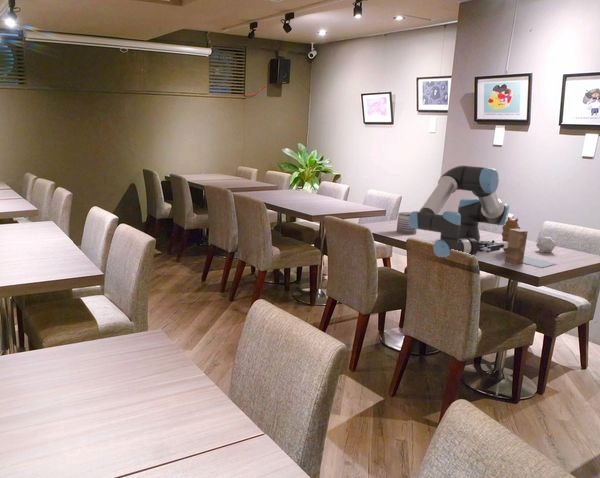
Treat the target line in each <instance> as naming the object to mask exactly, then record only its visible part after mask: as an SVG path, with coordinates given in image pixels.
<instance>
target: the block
mask: <svg viewBox="0 0 600 478" xmlns="http://www.w3.org/2000/svg"><path fill="white" fill-rule="evenodd" d="M528 232H529V231H528V230H524V229H521V228H520V229H509V235H508V248H507V249H506V252H505V258H504V263H505V264H509V265H511V266H523V264H524V263H523V259H524V256H525V252H526V251H525V250H526V245H527V238H528Z"/></svg>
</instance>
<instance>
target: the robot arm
mask: <svg viewBox="0 0 600 478" xmlns="http://www.w3.org/2000/svg"><path fill="white" fill-rule="evenodd" d="M499 180H500V179H499V172H498V171H497V169H495V168H494V167H493V168H491V167H482V166H472V165H471V166H470V165H458V166H455V167H453V168H450V169H448V170H447V171H446V172H444V173H443V174H442V175H441V176H440V178H439V179H438V180H437V185H436V186H435V188H434V190H433V191H432V192H431V194H430V196H429V197H428V198H427V200H426V201H425V202H424V203H423V205H422V207H421V208H420V209H419V211H417V210H415V211H410V212H411V214H410V216H409V226H410V227H411V228H416V229H417V230H422V231H428V232H434V233H435V232H436V233H439V234H440V237H439V238H440V239H437V240H435V242H434V244H433V248H432V249H433V253H434V255H435V256H437V257H439V258H448V257H447V256H449V255H450V250H451V249H454V250H458V251H462V252H466V253H469V254H471V255H470V256H475V255H476V254H477V253H478V252H479V253H481V252H485V251H486V253H491V252H495V251H496V252H497V251H500V250H501V249H503V248H508V242H503V241H495V240H494V239H493V240H491V241H490V240H481V235H480V229H479V223H482V224H488V225H489V224H490V225H496V226H504V225H505V224H506V221H507V220H508V217H509V213H510V205H509V204H507V203H503V201H502V200H501V199H499V197H498V195H497V192H496V191H497V190H498V186H499ZM457 190H462V191H468V192H471V193H472V194H473V195H474V196H475V197H467V198H461V199H460V200H459V203H458V207H457V209H458V210H457V211H449V210H447V211H443V212H442V214H439V213H440V211H441V210H442V208H443V207H444V205H445V203H446V202H447V201H448V199H449V198H450V196H451V195H452V194H453V193H455V192H456V191H457Z"/></svg>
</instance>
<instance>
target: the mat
mask: <svg viewBox="0 0 600 478" xmlns="http://www.w3.org/2000/svg"><path fill="white" fill-rule="evenodd" d="M523 264H524V265H529V266H533V267H536V266H537V268H541V269H544V268H547V267H550V266H555V265H557V263H556V262H551V261H547V260H543V259H540V258H539V259H538V258H535V257H530V256H527V255H524V259H523ZM543 267H544V268H543Z"/></svg>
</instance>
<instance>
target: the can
mask: <svg viewBox="0 0 600 478" xmlns="http://www.w3.org/2000/svg"><path fill="white" fill-rule="evenodd" d="M411 212H412V211H404V212H398V213H397V222H396V223H397V224H396V233H398V234H401V235H405V236H407V235H408V236H411V235H413V236H414V235H416V234H417V230H418V229H416V228H411V227H410V226H409V216H410V214H411Z"/></svg>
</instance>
